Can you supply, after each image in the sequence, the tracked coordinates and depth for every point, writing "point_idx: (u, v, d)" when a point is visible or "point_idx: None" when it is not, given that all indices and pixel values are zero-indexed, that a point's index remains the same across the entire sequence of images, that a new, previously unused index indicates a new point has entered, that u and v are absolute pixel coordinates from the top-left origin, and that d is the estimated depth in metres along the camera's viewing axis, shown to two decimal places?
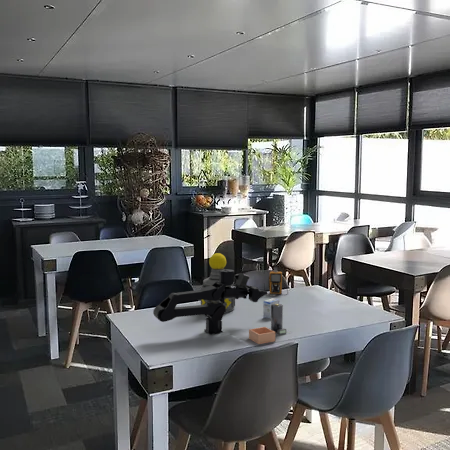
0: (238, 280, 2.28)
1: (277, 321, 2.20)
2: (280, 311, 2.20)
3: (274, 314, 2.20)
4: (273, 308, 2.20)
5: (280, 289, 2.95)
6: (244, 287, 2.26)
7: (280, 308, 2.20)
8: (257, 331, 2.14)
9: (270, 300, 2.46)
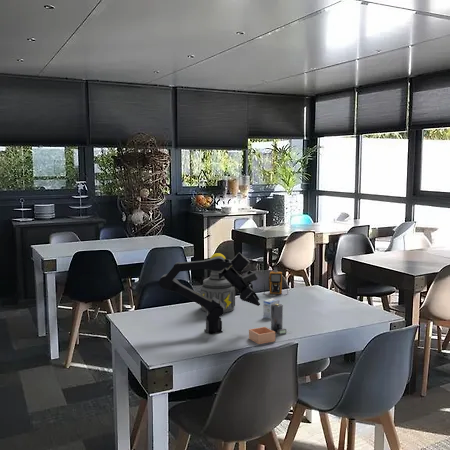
0: (247, 275, 2.22)
1: (277, 321, 2.20)
2: (280, 311, 2.20)
3: (274, 314, 2.20)
4: (273, 308, 2.20)
5: (280, 289, 2.95)
6: (245, 282, 2.19)
7: (280, 308, 2.20)
8: (257, 331, 2.14)
9: (270, 300, 2.46)
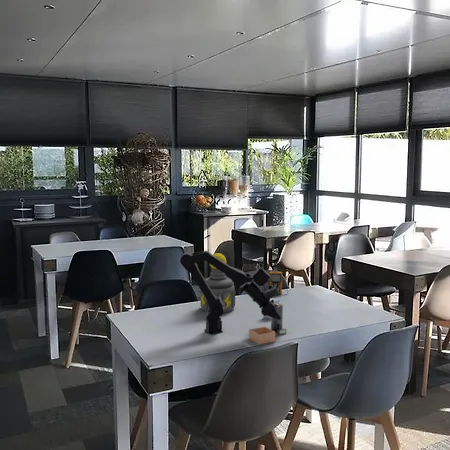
0: (268, 289, 2.22)
1: (277, 321, 2.20)
2: (280, 311, 2.20)
3: None
4: None
5: (280, 289, 2.95)
6: (266, 298, 2.19)
7: (280, 308, 2.20)
8: (257, 331, 2.14)
9: (270, 300, 2.46)
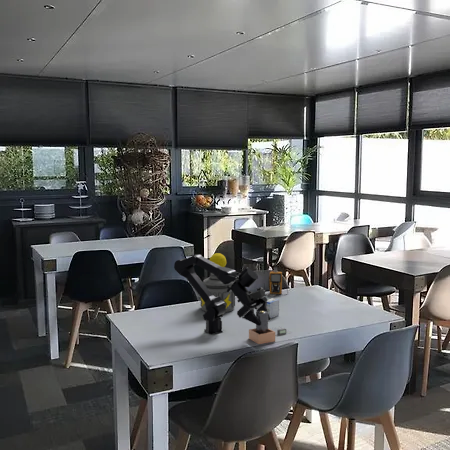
0: None
1: (259, 329, 2.09)
2: (263, 319, 2.08)
3: None
4: (256, 315, 2.10)
5: (280, 289, 2.95)
6: (249, 299, 2.10)
7: (263, 316, 2.08)
8: None
9: (270, 300, 2.46)
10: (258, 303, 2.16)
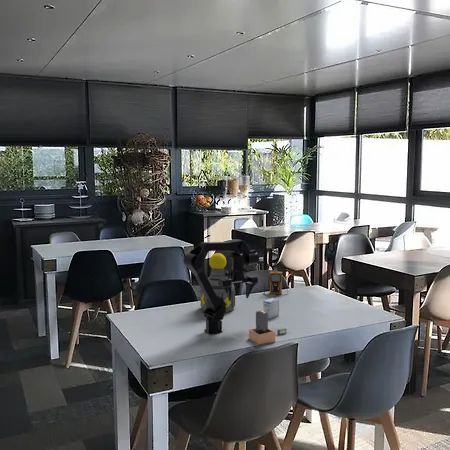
0: None
1: (259, 329, 2.09)
2: (262, 319, 2.08)
3: (256, 321, 2.09)
4: (256, 315, 2.10)
5: (280, 289, 2.95)
6: None
7: (262, 316, 2.08)
8: None
9: (270, 300, 2.46)
10: None
